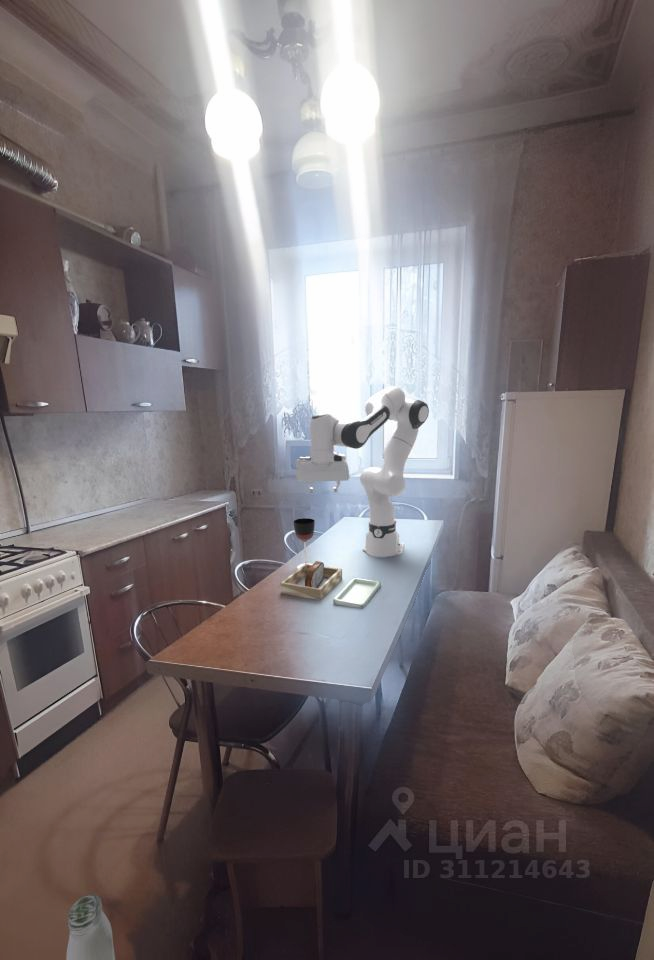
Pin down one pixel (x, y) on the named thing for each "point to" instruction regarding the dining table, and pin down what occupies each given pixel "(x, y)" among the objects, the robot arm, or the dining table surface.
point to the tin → (314, 574)
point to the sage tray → (357, 593)
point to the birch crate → (310, 592)
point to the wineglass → (304, 532)
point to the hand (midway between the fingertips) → (323, 492)
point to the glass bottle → (89, 931)
